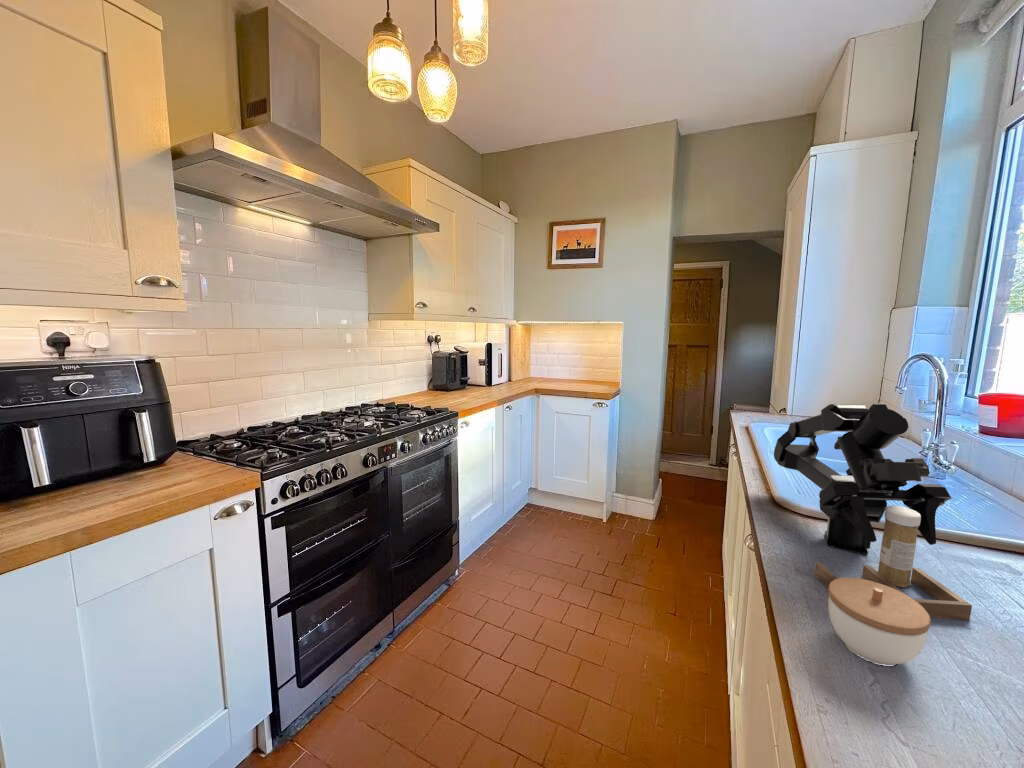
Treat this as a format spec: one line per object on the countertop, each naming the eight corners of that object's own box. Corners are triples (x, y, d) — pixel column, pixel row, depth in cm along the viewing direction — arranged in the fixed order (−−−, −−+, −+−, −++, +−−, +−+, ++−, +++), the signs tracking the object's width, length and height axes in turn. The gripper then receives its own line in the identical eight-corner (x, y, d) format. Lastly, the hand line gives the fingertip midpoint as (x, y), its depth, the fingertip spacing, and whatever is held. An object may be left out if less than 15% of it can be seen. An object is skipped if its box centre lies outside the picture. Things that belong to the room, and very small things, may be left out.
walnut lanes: (814, 574, 76) (815, 562, 76) (916, 580, 74) (918, 568, 74) (850, 612, 66) (852, 598, 66) (969, 619, 64) (972, 605, 64)
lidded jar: (807, 635, 62) (813, 577, 60) (850, 614, 66) (856, 560, 65) (895, 693, 52) (905, 627, 51) (939, 664, 56) (949, 602, 55)
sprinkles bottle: (875, 570, 77) (884, 502, 75) (908, 578, 75) (918, 508, 72) (877, 582, 74) (887, 511, 72) (912, 592, 71) (923, 519, 69)
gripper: (834, 439, 75) (871, 525, 66) (949, 441, 73) (1004, 531, 64) (805, 465, 84) (835, 545, 75) (907, 468, 82) (950, 550, 73)
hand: (903, 542), depth 71 cm, fingers open, 9 cm apart
